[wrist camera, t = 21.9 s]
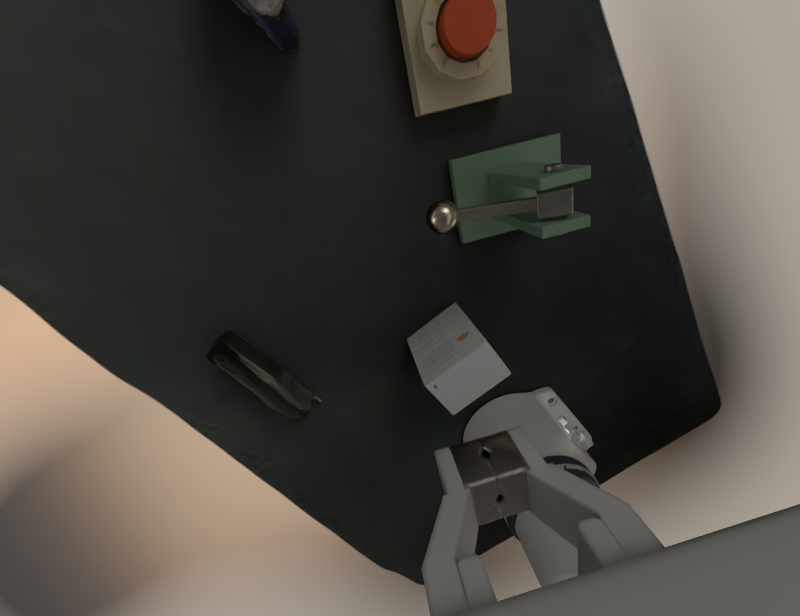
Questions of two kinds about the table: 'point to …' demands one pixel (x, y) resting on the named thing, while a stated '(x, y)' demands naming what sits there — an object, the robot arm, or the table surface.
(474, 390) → the small box
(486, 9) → the button
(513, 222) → the switch bracket
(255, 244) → the table surface
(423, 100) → the button housing
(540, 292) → the table surface
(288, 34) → the flask
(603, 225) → the table surface
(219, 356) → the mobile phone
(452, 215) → the lever
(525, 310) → the table surface
